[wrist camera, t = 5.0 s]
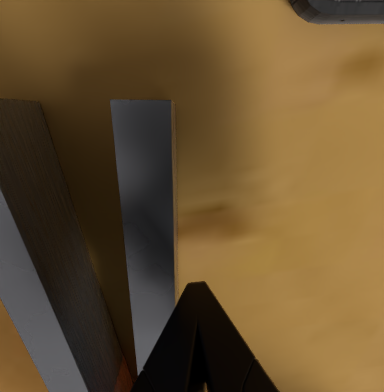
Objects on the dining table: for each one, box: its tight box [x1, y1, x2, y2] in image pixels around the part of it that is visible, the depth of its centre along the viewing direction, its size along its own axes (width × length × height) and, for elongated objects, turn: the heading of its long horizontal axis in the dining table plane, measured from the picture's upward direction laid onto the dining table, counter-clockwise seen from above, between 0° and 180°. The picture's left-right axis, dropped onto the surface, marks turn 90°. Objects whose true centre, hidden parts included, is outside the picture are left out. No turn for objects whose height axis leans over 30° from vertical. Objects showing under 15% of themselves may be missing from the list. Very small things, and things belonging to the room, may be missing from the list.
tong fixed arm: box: [0, 98, 133, 392], centre depth 10 cm, size 18×2×3 cm, turn 8°
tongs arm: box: [110, 100, 178, 375], centre depth 10 cm, size 22×4×3 cm, turn 0°
